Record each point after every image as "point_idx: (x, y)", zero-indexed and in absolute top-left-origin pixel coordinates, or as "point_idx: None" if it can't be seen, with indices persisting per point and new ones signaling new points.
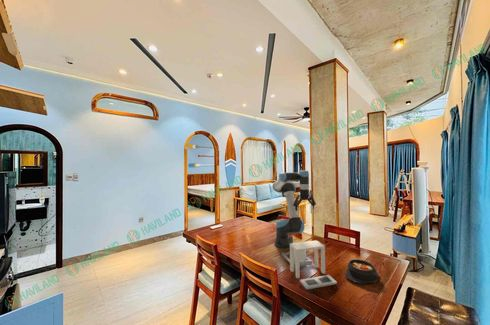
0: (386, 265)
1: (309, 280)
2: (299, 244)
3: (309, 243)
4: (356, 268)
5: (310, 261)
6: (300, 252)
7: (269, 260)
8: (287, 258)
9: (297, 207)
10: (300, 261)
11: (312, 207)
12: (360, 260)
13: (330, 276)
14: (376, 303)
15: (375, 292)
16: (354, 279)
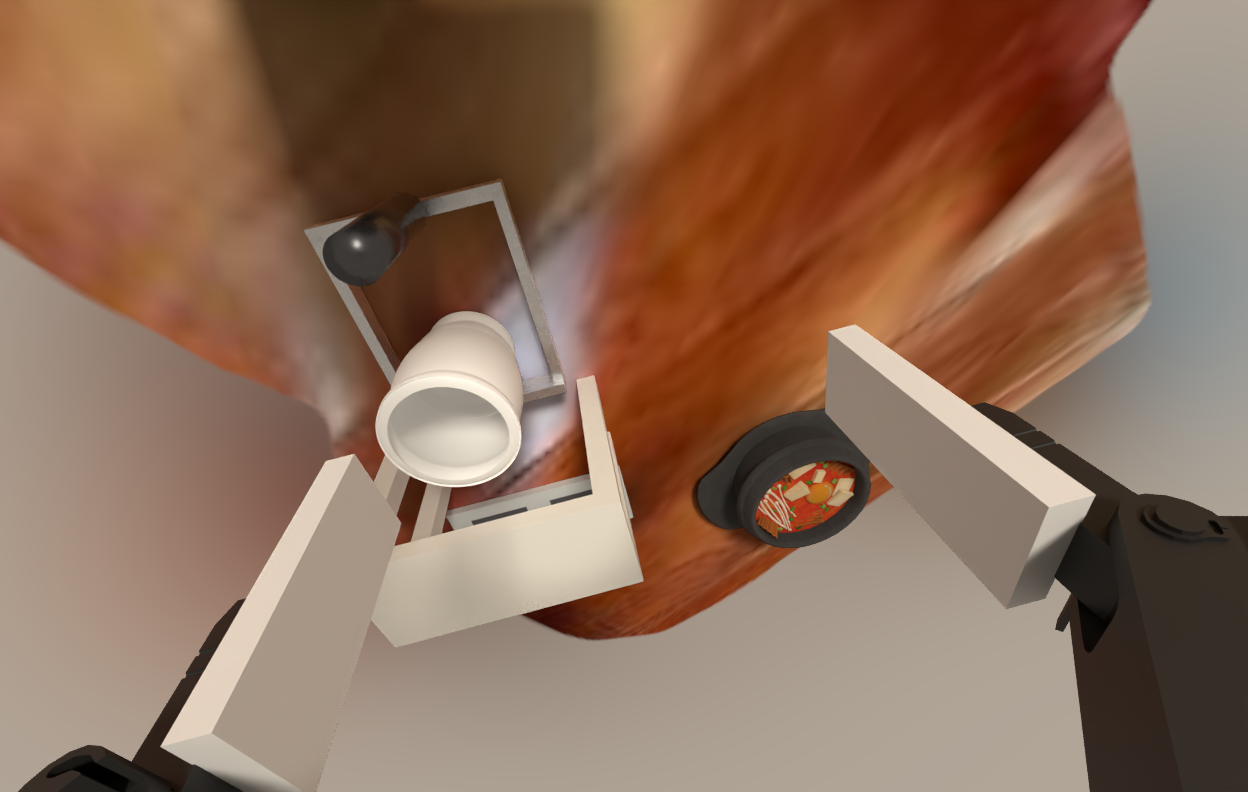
0: (1002, 361)
1: (499, 517)
2: (430, 580)
3: (529, 558)
4: (758, 534)
5: (550, 394)
6: (462, 457)
7: (202, 297)
8: (368, 342)
9: (268, 785)
10: (471, 409)
11: (967, 550)
12: (847, 462)
13: (623, 482)
14: (710, 585)
15: (752, 543)
16: (720, 512)
